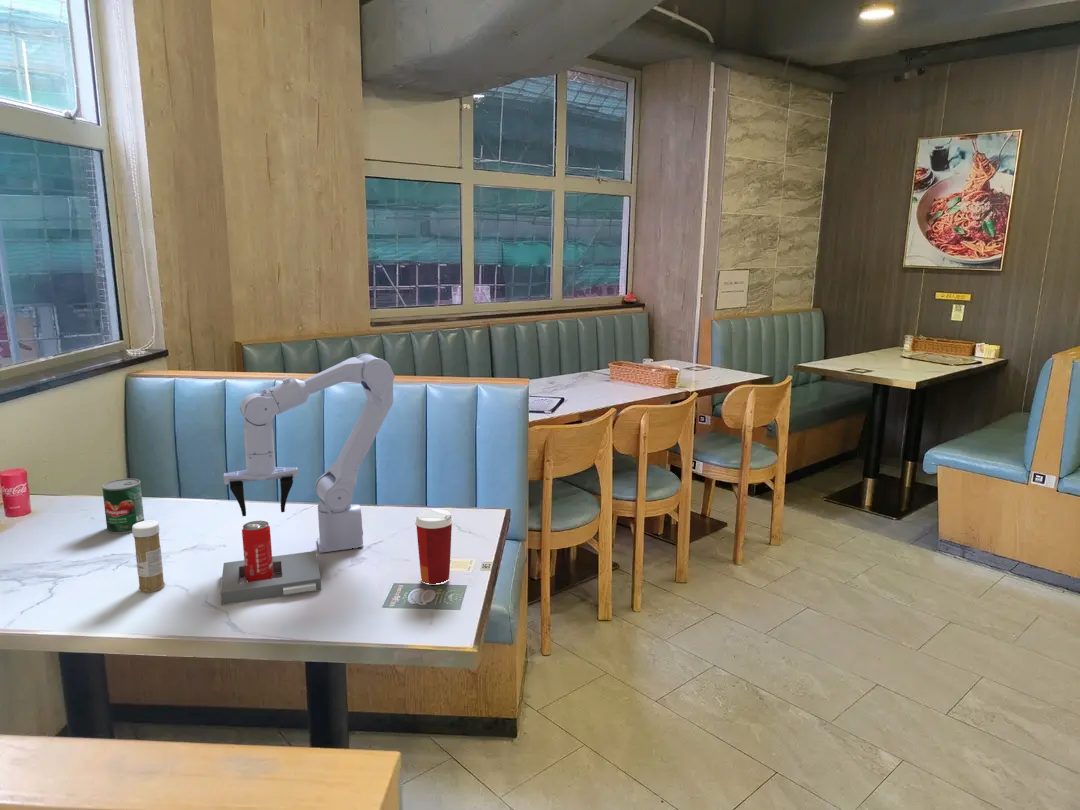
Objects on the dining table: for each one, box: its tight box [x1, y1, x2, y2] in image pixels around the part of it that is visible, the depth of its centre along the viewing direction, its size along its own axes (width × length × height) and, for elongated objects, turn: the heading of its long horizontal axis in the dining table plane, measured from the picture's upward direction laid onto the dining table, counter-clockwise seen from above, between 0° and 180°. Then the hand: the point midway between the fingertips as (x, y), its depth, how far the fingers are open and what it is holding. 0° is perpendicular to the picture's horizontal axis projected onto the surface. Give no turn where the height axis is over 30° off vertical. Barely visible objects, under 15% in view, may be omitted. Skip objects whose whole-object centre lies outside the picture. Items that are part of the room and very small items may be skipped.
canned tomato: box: [101, 478, 145, 535], centre depth 171 cm, size 8×8×11 cm
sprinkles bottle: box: [131, 519, 166, 593], centre depth 140 cm, size 5×5×14 cm
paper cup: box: [413, 508, 454, 584], centre depth 145 cm, size 8×8×14 cm
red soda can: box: [241, 520, 274, 582], centre depth 144 cm, size 5×5×12 cm
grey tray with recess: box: [219, 550, 322, 606], centre depth 144 cm, size 18×15×2 cm
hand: (263, 512), depth 154 cm, fingers open, 7 cm apart
